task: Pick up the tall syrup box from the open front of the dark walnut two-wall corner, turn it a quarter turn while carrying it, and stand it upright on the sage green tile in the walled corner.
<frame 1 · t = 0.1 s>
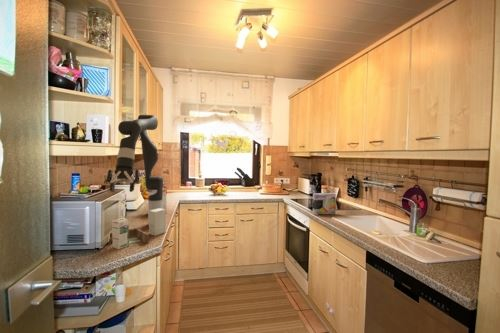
hand: (121, 191, 122), 31 cm above the worktop, tool tilted 20°, fingers open, 8 cm apart
arena: (128, 242, 144), on the worktop
syrup box: (120, 247, 138), on the worktop
cake pan box: (323, 214, 218), on the worktop
cracker box: (157, 214, 212), on the worktop
skincare box: (157, 233, 161), on the worktop
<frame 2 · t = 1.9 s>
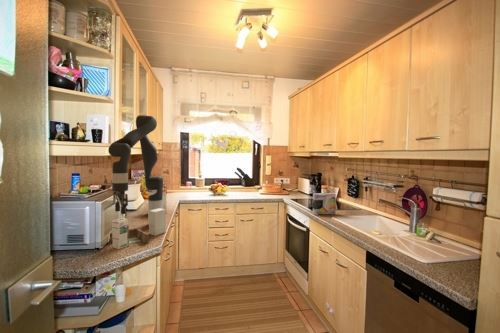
hand: (120, 212, 137), 18 cm above the worktop, tool pointing down, fingers open, 8 cm apart
nothing on the worktop moved.
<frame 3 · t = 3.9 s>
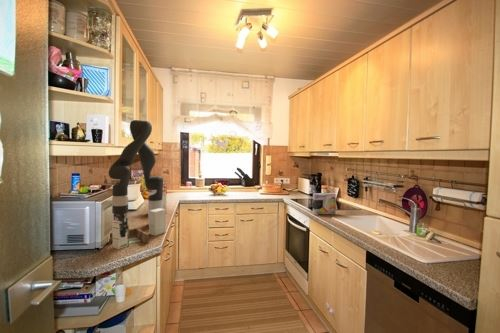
hand: (120, 235, 138), 6 cm above the worktop, tool pointing down, fingers closed on syrup box, 6 cm apart
syrup box: (120, 246, 138), on the worktop, touching gripper
everything else where it was.
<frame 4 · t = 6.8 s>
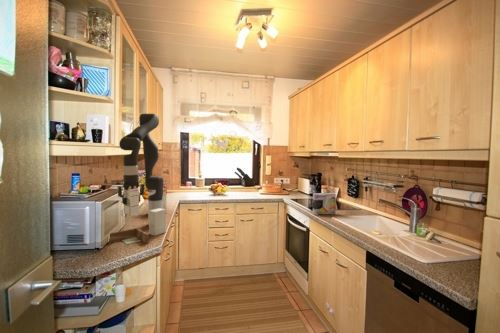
hand: (131, 203, 146), 21 cm above the worktop, tool pointing down, fingers closed on syrup box, 6 cm apart
syrup box: (131, 214, 146), point 15 cm above the worktop, touching gripper
everything else where it was.
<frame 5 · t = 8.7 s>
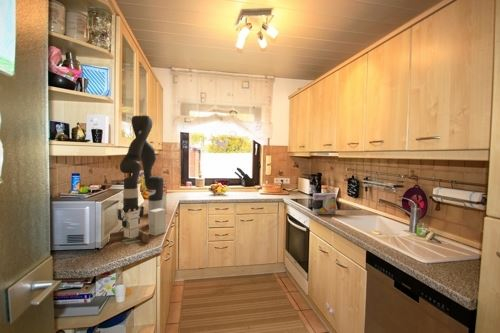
hand: (130, 225, 146), 9 cm above the worktop, tool pointing down, fingers closed on syrup box, 6 cm apart
syrup box: (131, 236, 147), point 2 cm above the worktop, touching gripper
everything else where it was.
when the fingers open (7 cm above the worktop, at t = 10.0 s): syrup box stays where it is, resting on arena.
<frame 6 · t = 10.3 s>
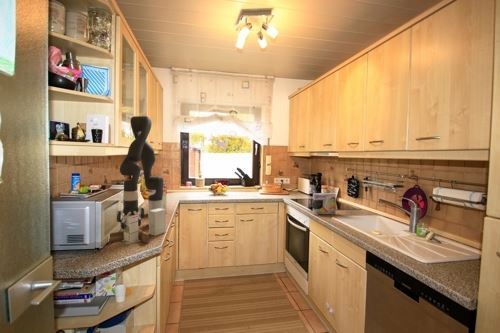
hand: (131, 227, 147), 8 cm above the worktop, tool pointing down, fingers open, 8 cm apart
syrup box: (131, 240, 147), resting on arena
everything else where it was.
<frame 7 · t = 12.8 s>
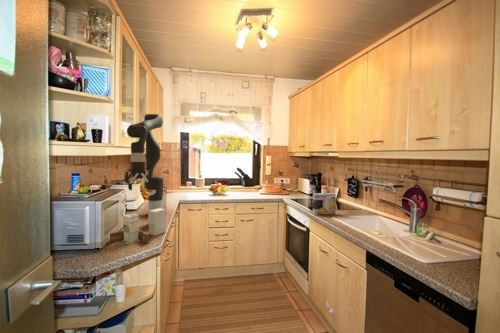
hand: (138, 189, 148), 29 cm above the worktop, tool pointing down, fingers open, 8 cm apart
nothing on the worktop moved.
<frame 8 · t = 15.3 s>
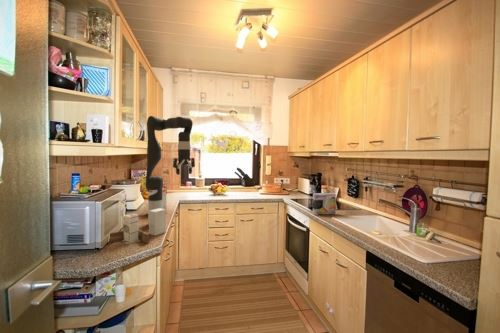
hand: (184, 174, 167), 36 cm above the worktop, tool pointing down, fingers open, 8 cm apart
nothing on the worktop moved.
at the end: syrup box 0.1 cm from the target spot on the arena, point 0.1 cm above the arena's base; syrup box tilted 0°; the gripper is holding nothing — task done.
